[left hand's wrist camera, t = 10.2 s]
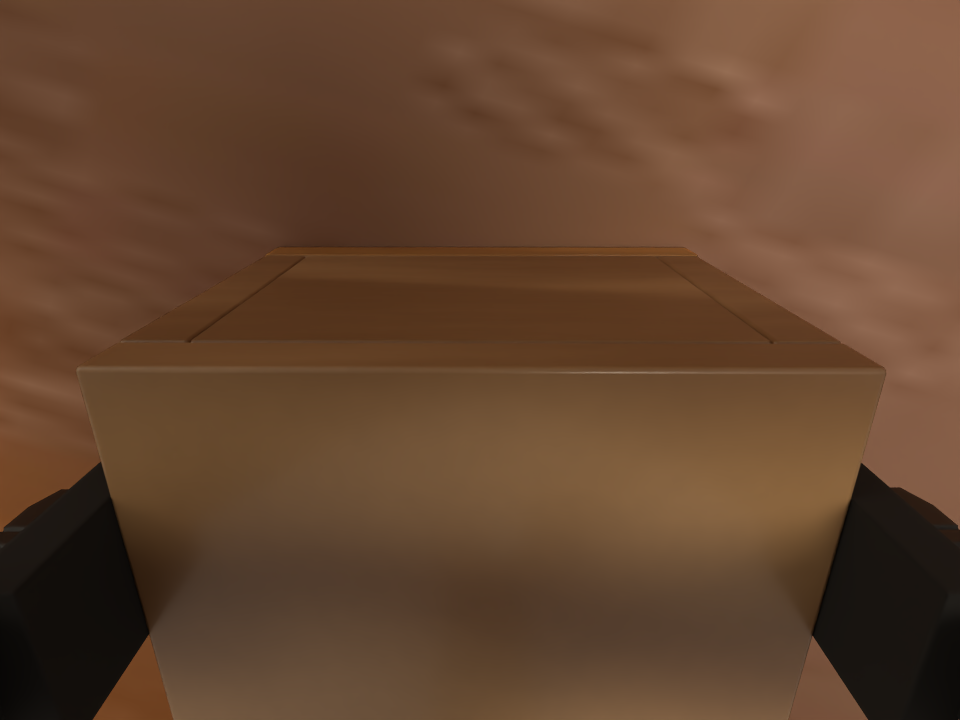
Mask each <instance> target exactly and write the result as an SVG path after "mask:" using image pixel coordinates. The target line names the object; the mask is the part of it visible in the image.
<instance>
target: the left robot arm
mask: <svg viewBox="0 0 960 720" xmlns="http://www.w3.org/2000/svg"><path fill="white" fill-rule="evenodd" d="M148 635H149V631H148V627H147V624H146V620H145V617H144V613H143V610H142V606H141V602H140V599H139V595H138V592H137V588H136V585H135V581H134V578H133V574H132V570H131V567H130V563H129V560H128V556H127V553H126V549H125V545H124V542H123V538H122V535H121V531H120V528H119V524H118V520H117V517H116V513H115V510H114V506H113V503H112V499H111V496H110V492H109V488H108V485H107V481H106V478H105V474H104V471H103V467H102V463H101V462H100V463H99V464H98V465H96V466H95V467H94V468H93V469H92V470H91V471H90V472H88V473H87V474H86V475H85V476H84V477H83V478H81V479H80V480H79V481H78V482H77V483H76V484H75V485H73V486H72V487H71V488H70V489H61V490H59V491H58V492H56V493H54V494H52V495H50V496H48V497H46V498H45V499H43V500H41V501H39V502H37V503H35V504H33V505H31V506H30V507H28V508H27V509H26V510H24V511H23V512H22V513H21V514H20V515H18V516H17V517H16V518H15V519H14V520H12V521H11V522H10V523H9V524H8V525H6V526H5V527H4V531H3V532H0V720H93V718H94V717H95V715H96V714H97V712H98V711H99V709H100V708H101V706H102V704H103V703H104V701H105V700H106V698H107V697H108V695H109V694H110V692H111V691H112V689H113V688H114V686H115V685H116V683H117V682H118V680H119V679H120V677H121V676H122V674H123V673H124V671H125V670H126V668H127V667H128V665H129V664H130V662H131V660H132V659H133V657H134V656H135V654H136V653H137V651H138V650H139V648H140V647H141V645H142V644H143V642H144V641H145V639H146V638H147V636H148ZM813 637H814V638H815V640H816V641H817V643H818V644H819V646H820V647H821V649H822V650H823V652H824V653H825V655H826V656H827V658H828V659H829V661H830V662H831V664H832V665H833V667H834V669H835V670H836V672H837V673H838V675H839V676H840V678H841V679H842V681H843V682H844V684H845V685H846V687H847V688H848V690H849V691H850V693H851V694H852V696H853V697H854V699H855V700H856V702H857V703H858V705H859V706H860V708H861V709H862V711H863V713H864V714H865V716H866V717H867V719H868V720H958V719H959V720H960V530H959V529H958V525H956V524H955V523H954V522H953V521H952V520H950V519H949V518H948V517H947V516H946V515H944V514H943V513H942V512H941V511H940V510H938V509H937V508H936V507H935V506H933V505H932V504H930V503H928V502H926V501H924V500H922V499H921V498H919V497H917V496H915V495H913V494H911V493H909V492H907V491H906V490H904V489H902V488H890V487H889V486H887V485H886V484H885V483H884V482H883V481H882V480H880V479H879V478H878V477H877V476H876V475H875V474H874V473H872V472H871V471H870V470H869V469H868V468H867V467H866V466H864V465H863V464H862V463H861V465H860V468H859V472H858V475H857V479H856V482H855V486H854V490H853V493H852V497H851V500H850V504H849V507H848V511H847V514H846V518H845V521H844V525H843V528H842V532H841V536H840V539H839V543H838V546H837V550H836V553H835V557H834V560H833V564H832V567H831V571H830V574H829V578H828V582H827V585H826V589H825V592H824V596H823V599H822V603H821V606H820V610H819V613H818V617H817V620H816V624H815V628H814V631H813Z"/></svg>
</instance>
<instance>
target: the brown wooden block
mask: <svg viewBox="0 0 960 720" xmlns="http://www.w3.org/2000/svg"><path fill="white" fill-rule="evenodd" d="M697 256H698V255H697V254H695V253H693V252H692V251H690V250H688V249H686V248H558V247H278V248H276V249H274V250H273V251H271V252H269V253H267V254H266V256H265V257H263V258H262V259H260V260H258V261H256V262H255V263H253V264H251V265H250V266H248V267H246V268H244V269H243V270H241V271H239V272H238V273H236V274H234V275H232V276H231V277H229V278H227V279H226V280H224V281H222V282H220V283H219V284H217V285H215V286H213V287H212V288H210V289H208V290H207V291H205V292H203V293H201V294H200V295H198V296H196V297H195V298H193V299H191V300H189V301H188V302H186V303H184V304H183V305H181V306H179V307H177V308H176V309H174V310H172V311H170V312H169V313H167V314H165V315H164V316H162V317H160V318H158V319H157V320H155V321H153V322H152V323H150V324H148V325H146V326H145V327H143V328H141V329H140V330H138V331H136V332H134V333H133V334H131V335H129V336H127V337H126V338H124V339H122V340H121V341H120V343H117V344H115V345H113V346H112V347H110V348H108V349H107V350H105V351H103V352H101V353H100V354H98V355H96V356H95V357H93V358H91V359H90V360H88V361H86V362H84V363H83V364H81V365H79V366H78V367H77V369H76V374H77V378H78V381H79V385H80V389H81V392H82V396H83V399H84V403H85V406H86V410H87V414H88V417H89V421H90V424H91V428H92V431H93V435H94V438H95V442H96V446H97V449H98V453H99V456H100V460H101V463H102V467H103V471H104V474H105V478H106V481H107V485H108V488H109V492H110V496H111V499H112V503H113V506H114V510H115V513H116V517H117V520H118V524H119V528H120V531H121V535H122V538H123V542H124V545H125V549H126V553H127V556H128V560H129V563H130V567H131V570H132V574H133V578H134V581H135V585H136V588H137V592H138V595H139V599H140V602H141V606H142V610H143V613H144V617H145V620H146V624H147V627H148V631H149V635H150V638H151V642H152V645H153V649H154V652H155V656H156V660H157V663H158V667H159V670H160V674H161V677H162V681H163V684H164V688H165V692H166V695H167V699H168V702H169V706H170V709H171V713H172V717H173V720H789V716H790V713H791V709H792V705H793V702H794V698H795V695H796V691H797V688H798V684H799V681H800V677H801V674H802V670H803V666H804V663H805V659H806V656H807V652H808V649H809V645H810V642H811V638H812V635H813V631H814V628H815V624H816V620H817V617H818V613H819V610H820V606H821V603H822V599H823V596H824V592H825V589H826V585H827V582H828V578H829V574H830V571H831V567H832V564H833V560H834V557H835V553H836V550H837V546H838V543H839V539H840V536H841V532H842V528H843V525H844V521H845V518H846V514H847V511H848V507H849V504H850V500H851V497H852V493H853V490H854V486H855V482H856V479H857V475H858V472H859V468H860V465H861V461H862V458H863V454H864V451H865V447H866V443H867V440H868V436H869V433H870V429H871V426H872V422H873V419H874V415H875V412H876V408H877V405H878V401H879V397H880V394H881V390H882V387H883V383H884V380H885V376H886V370H885V368H884V367H882V366H880V365H879V364H877V363H875V362H874V361H872V360H870V359H869V358H867V357H865V356H864V355H862V354H860V353H859V352H857V351H855V350H853V349H852V348H850V347H848V346H847V345H844V344H841V343H840V341H839V340H837V339H835V338H833V337H832V336H830V335H828V334H827V333H825V332H823V331H822V330H820V329H818V328H817V327H815V326H813V325H812V324H810V323H808V322H806V321H805V320H803V319H801V318H800V317H798V316H796V315H795V314H793V313H791V312H790V311H788V310H786V309H784V308H783V307H781V306H779V305H778V304H776V303H774V302H773V301H771V300H769V299H768V298H766V297H764V296H763V295H761V294H759V293H757V292H756V291H754V290H752V289H751V288H749V287H747V286H746V285H744V284H742V283H741V282H739V281H737V280H735V279H734V278H732V277H730V276H729V275H727V274H725V273H724V272H722V271H720V270H719V269H717V268H715V267H714V266H712V265H710V264H708V263H707V262H705V261H703V260H702V259H700V258H698V257H697Z"/></svg>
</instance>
